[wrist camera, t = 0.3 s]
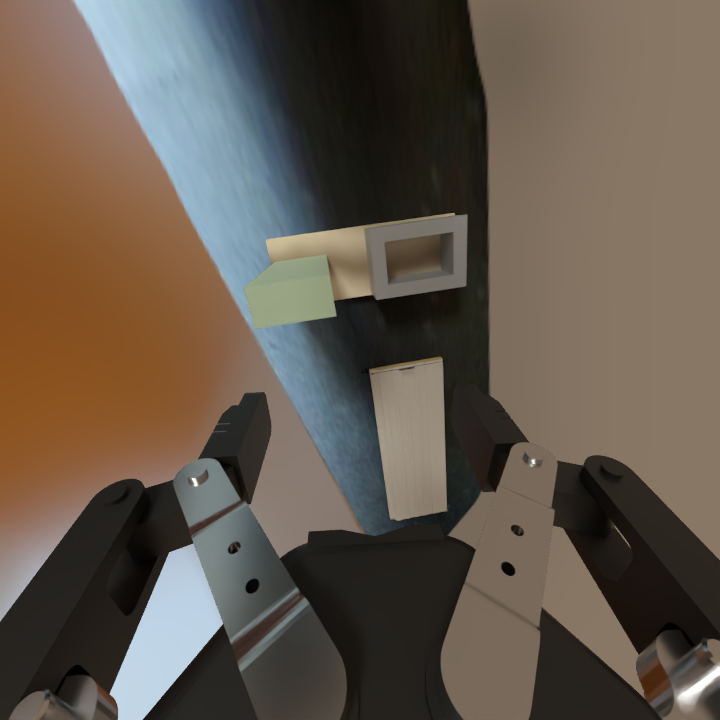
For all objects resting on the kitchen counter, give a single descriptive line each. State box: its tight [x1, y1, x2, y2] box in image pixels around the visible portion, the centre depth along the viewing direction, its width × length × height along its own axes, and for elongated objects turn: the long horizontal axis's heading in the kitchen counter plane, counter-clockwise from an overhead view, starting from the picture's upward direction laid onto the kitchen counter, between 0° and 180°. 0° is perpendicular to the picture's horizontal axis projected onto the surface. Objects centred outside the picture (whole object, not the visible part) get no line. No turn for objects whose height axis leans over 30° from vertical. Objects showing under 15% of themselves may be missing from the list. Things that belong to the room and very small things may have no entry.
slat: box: [244, 255, 336, 329], centre depth 29 cm, size 3×6×16 cm, turn 97°
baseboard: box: [361, 357, 447, 521], centre depth 50 cm, size 31×3×12 cm
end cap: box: [364, 215, 467, 300], centre depth 35 cm, size 8×10×4 cm
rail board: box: [266, 213, 455, 301], centre depth 37 cm, size 8×22×1 cm, turn 97°
